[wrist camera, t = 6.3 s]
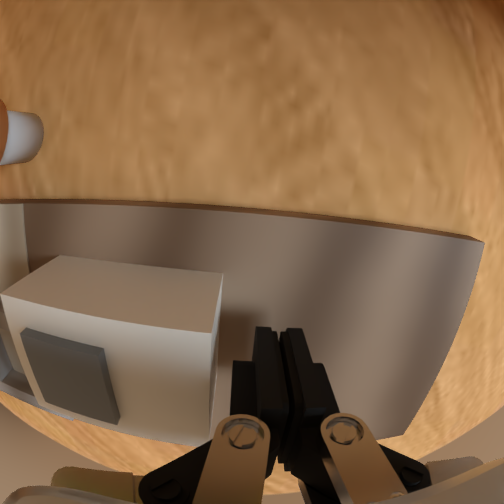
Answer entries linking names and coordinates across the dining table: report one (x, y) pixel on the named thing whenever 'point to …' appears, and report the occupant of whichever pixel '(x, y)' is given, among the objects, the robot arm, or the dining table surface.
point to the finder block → (120, 344)
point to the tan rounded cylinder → (19, 136)
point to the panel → (274, 288)
